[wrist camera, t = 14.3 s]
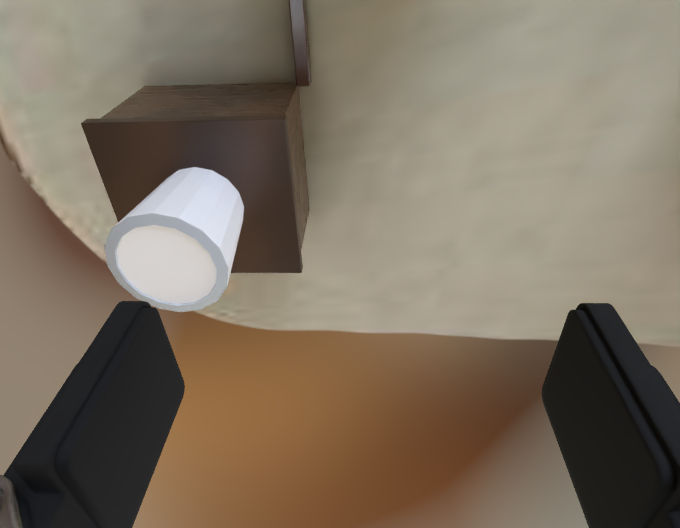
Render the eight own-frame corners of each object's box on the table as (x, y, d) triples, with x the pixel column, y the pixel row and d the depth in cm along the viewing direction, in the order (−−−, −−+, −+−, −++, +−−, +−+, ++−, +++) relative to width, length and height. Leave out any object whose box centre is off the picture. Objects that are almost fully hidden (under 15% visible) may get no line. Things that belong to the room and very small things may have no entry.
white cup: (246, 158, 29) (217, 216, 23) (258, 248, 33) (236, 315, 27) (139, 156, 29) (85, 212, 23) (164, 246, 33) (123, 311, 28)
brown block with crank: (290, -210, 25) (260, -263, 18) (320, 212, 41) (310, 273, 34) (56, -195, 26) (-63, -240, 19) (174, 213, 42) (134, 273, 35)
